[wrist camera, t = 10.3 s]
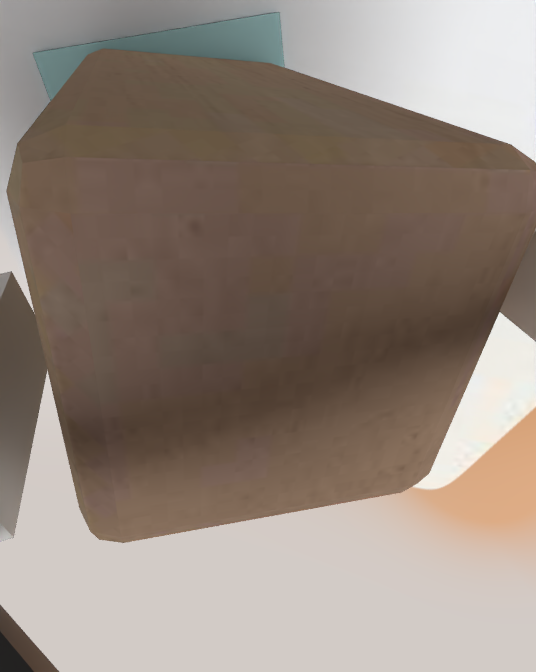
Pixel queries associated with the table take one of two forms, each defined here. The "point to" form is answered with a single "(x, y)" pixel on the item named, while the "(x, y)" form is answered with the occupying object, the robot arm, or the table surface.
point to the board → (177, 46)
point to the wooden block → (255, 285)
